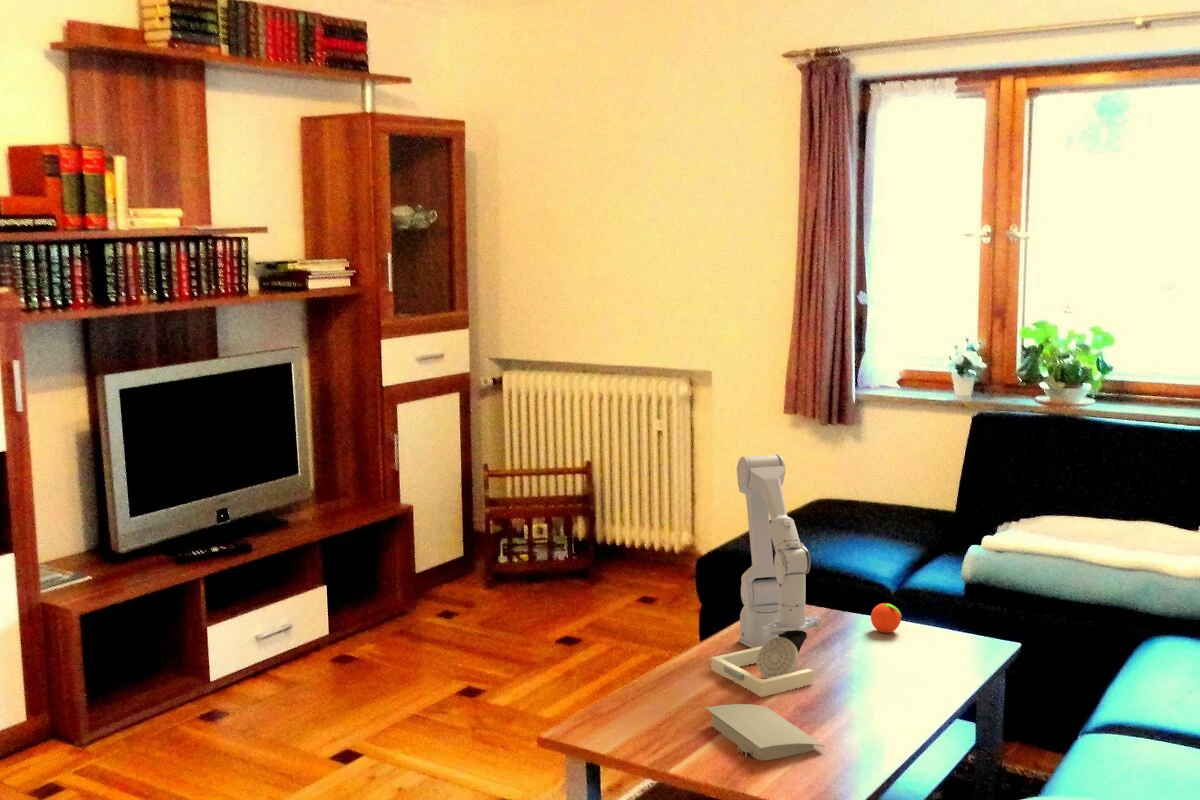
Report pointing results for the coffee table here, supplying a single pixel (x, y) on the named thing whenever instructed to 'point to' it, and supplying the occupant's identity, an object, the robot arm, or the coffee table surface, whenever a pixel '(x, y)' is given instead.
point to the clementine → (885, 617)
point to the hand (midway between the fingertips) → (791, 663)
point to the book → (760, 731)
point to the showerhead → (777, 657)
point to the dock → (730, 669)
